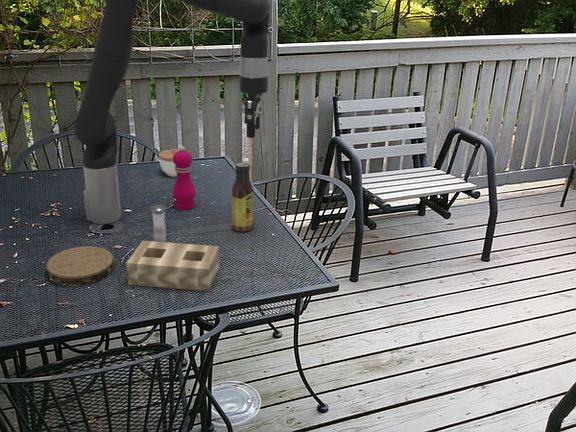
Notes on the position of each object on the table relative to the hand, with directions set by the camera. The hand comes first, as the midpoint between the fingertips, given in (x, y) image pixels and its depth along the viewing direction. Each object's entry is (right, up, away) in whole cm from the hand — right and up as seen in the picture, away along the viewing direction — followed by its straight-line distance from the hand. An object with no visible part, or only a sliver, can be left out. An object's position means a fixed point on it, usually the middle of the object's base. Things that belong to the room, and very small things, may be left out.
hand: (253, 133), depth 160 cm
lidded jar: (-32, -8, +52) cm, 61 cm away
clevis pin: (-25, -32, -1) cm, 41 cm away
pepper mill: (-24, -20, +26) cm, 40 cm away
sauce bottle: (-4, -27, +12) cm, 30 cm away
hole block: (-19, -38, -14) cm, 45 cm away
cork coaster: (-43, -37, -13) cm, 58 cm away
